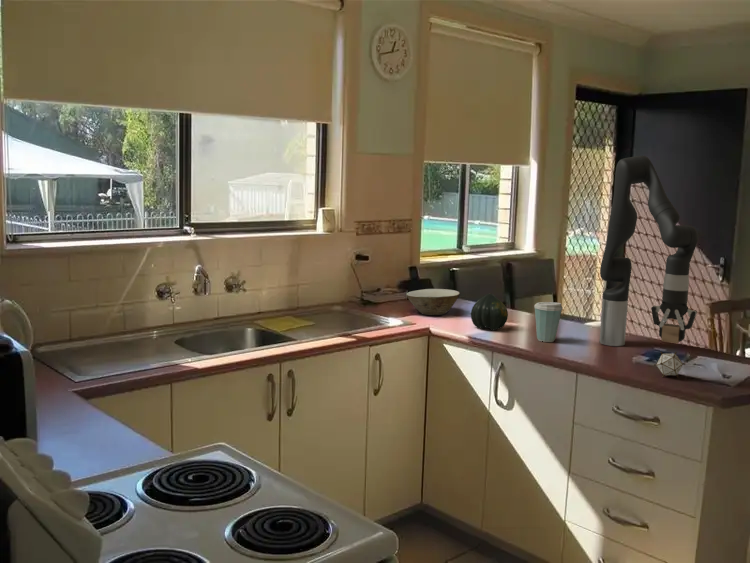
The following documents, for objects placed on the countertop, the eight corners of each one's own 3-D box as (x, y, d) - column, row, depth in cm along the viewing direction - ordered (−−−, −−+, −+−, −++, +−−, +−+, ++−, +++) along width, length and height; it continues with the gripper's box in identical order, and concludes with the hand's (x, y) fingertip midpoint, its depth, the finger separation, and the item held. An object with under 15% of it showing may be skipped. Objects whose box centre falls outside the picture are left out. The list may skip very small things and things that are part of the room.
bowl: (396, 310, 338) (397, 288, 336) (442, 306, 348) (442, 285, 346) (421, 320, 317) (422, 297, 315) (468, 316, 327) (469, 294, 325)
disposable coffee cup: (526, 339, 287) (528, 301, 284) (543, 335, 293) (545, 298, 291) (549, 345, 279) (551, 306, 276) (566, 341, 285) (568, 303, 283)
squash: (486, 321, 292) (503, 290, 297) (459, 316, 304) (476, 287, 308) (503, 341, 300) (520, 311, 305) (476, 335, 312) (492, 306, 316)
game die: (668, 385, 243) (682, 359, 245) (680, 384, 235) (694, 357, 237) (645, 371, 244) (659, 345, 246) (655, 369, 236) (669, 342, 238)
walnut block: (665, 338, 242) (666, 323, 242) (681, 340, 240) (682, 325, 239) (661, 341, 238) (662, 326, 238) (677, 343, 236) (678, 328, 235)
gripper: (702, 288, 235) (697, 340, 238) (655, 283, 243) (651, 334, 246) (697, 292, 229) (692, 345, 232) (649, 286, 237) (645, 338, 240)
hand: (671, 339), depth 239 cm, fingers closed on walnut block, 5 cm apart
